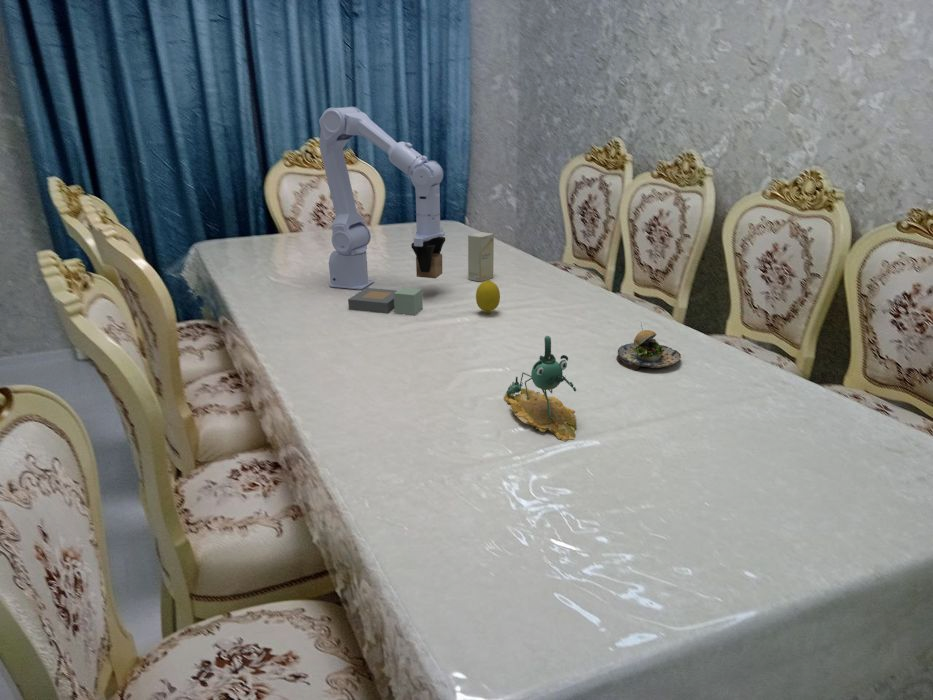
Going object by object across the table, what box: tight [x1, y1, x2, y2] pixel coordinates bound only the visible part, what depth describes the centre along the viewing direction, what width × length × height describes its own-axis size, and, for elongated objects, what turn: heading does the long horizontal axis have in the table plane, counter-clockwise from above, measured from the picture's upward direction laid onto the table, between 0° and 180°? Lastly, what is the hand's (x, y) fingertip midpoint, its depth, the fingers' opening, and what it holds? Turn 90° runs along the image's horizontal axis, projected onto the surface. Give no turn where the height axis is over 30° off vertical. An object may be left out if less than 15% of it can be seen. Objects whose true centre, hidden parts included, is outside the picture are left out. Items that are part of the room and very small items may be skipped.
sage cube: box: [394, 286, 424, 316], centre depth 153 cm, size 5×5×5 cm
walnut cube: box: [415, 253, 443, 279], centre depth 164 cm, size 5×5×5 cm
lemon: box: [475, 279, 501, 314], centre depth 151 cm, size 6×6×8 cm
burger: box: [616, 323, 682, 371], centre depth 125 cm, size 12×12×8 cm
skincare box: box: [467, 231, 495, 283], centre depth 178 cm, size 6×4×12 cm
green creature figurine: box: [503, 335, 578, 442], centre depth 103 cm, size 10×18×15 cm, turn 22°
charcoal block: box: [347, 287, 399, 315], centre depth 158 cm, size 10×10×3 cm
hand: (429, 269), depth 164 cm, fingers closed on walnut cube, 5 cm apart
